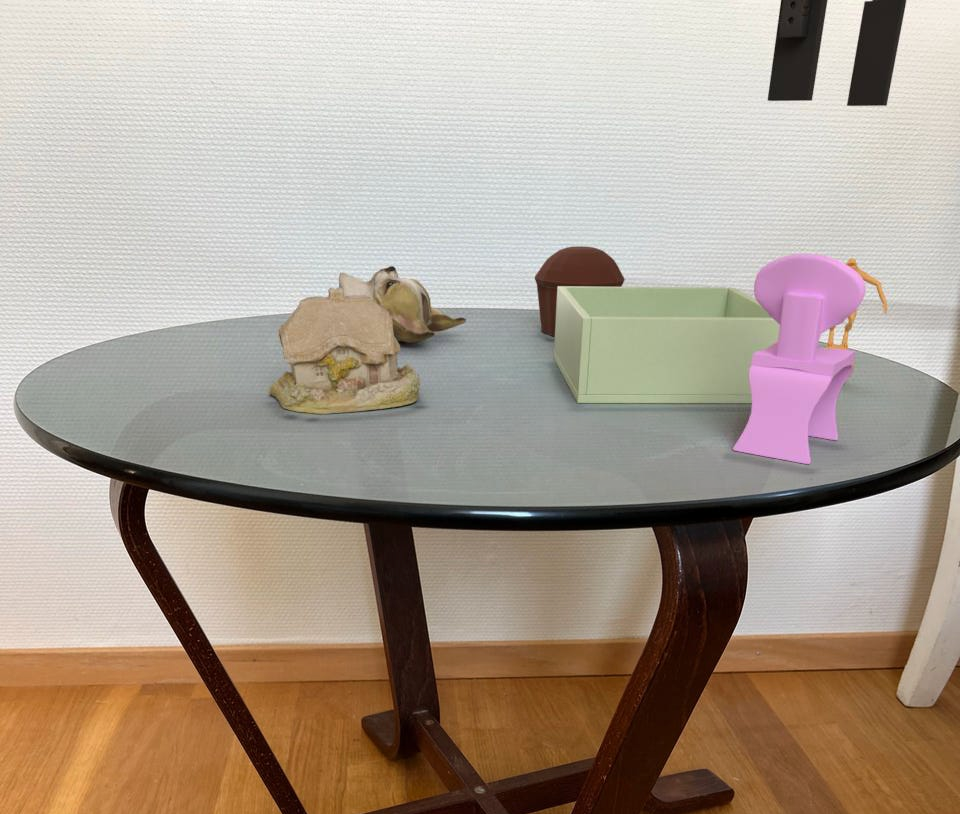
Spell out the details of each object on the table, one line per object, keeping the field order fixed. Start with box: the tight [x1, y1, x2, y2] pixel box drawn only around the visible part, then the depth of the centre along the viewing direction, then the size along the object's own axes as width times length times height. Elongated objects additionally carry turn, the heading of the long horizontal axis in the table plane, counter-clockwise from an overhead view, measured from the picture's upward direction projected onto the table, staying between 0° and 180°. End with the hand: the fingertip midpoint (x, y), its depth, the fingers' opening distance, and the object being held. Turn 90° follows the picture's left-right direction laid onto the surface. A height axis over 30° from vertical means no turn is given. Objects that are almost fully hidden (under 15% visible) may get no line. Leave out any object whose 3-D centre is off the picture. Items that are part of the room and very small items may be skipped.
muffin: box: [534, 245, 625, 337], centre depth 118 cm, size 12×11×10 cm
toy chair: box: [732, 253, 867, 465], centre depth 75 cm, size 8×9×15 cm
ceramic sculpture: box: [338, 265, 467, 343], centre depth 112 cm, size 11×9×15 cm
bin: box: [553, 286, 780, 404], centre depth 96 cm, size 20×20×8 cm
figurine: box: [824, 257, 888, 378], centre depth 95 cm, size 8×6×12 cm
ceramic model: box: [268, 286, 421, 415], centre depth 87 cm, size 14×11×10 cm
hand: (830, 104), depth 65 cm, fingers open, 13 cm apart
